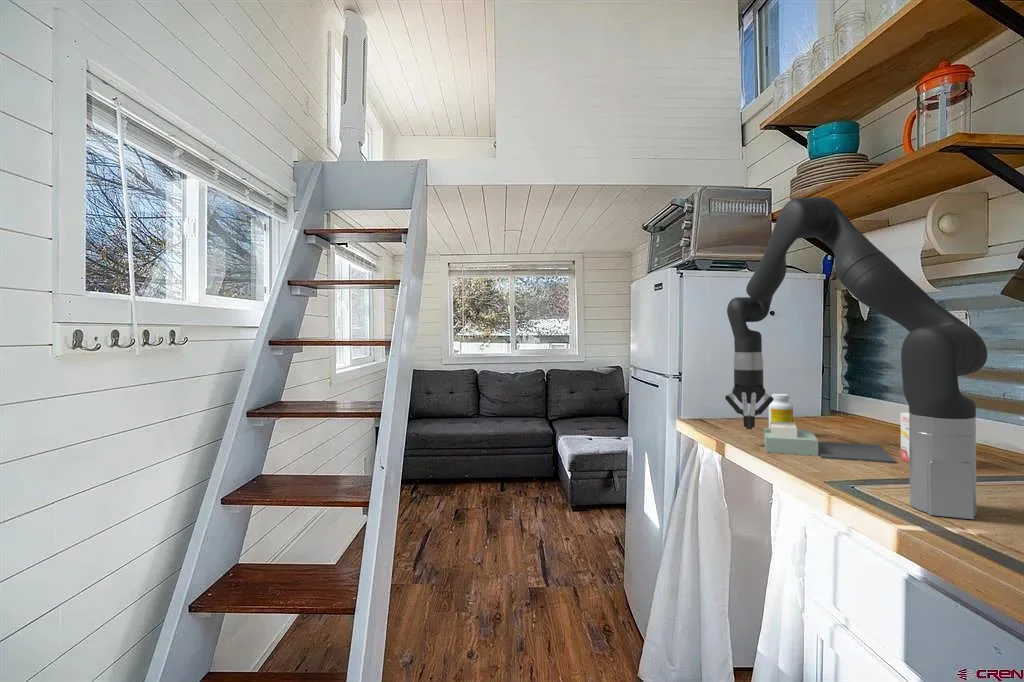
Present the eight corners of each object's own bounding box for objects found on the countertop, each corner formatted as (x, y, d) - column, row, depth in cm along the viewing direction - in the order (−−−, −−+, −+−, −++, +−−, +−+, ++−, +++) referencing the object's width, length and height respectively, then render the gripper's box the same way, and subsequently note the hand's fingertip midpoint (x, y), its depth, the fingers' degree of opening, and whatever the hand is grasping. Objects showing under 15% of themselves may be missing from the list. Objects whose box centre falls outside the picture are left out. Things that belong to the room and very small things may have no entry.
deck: (818, 456, 131) (818, 440, 131) (766, 452, 136) (766, 437, 136) (811, 444, 144) (811, 430, 144) (764, 441, 149) (763, 428, 149)
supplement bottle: (797, 439, 151) (796, 395, 151) (773, 438, 152) (772, 396, 152) (788, 434, 158) (787, 393, 157) (765, 434, 159) (765, 393, 158)
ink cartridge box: (899, 459, 126) (898, 400, 126) (921, 459, 125) (921, 400, 125) (919, 468, 118) (918, 405, 118) (943, 469, 117) (943, 405, 117)
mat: (896, 463, 123) (896, 461, 123) (821, 458, 129) (821, 456, 129) (877, 446, 139) (877, 444, 139) (812, 443, 146) (812, 441, 145)
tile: (797, 437, 135) (797, 428, 135) (771, 436, 138) (771, 427, 138) (793, 431, 143) (793, 422, 143) (770, 429, 146) (769, 421, 146)
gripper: (722, 368, 143) (723, 430, 143) (775, 369, 137) (776, 433, 138) (723, 366, 150) (724, 425, 150) (773, 367, 144) (774, 427, 145)
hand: (749, 428), depth 144 cm, fingers closed
